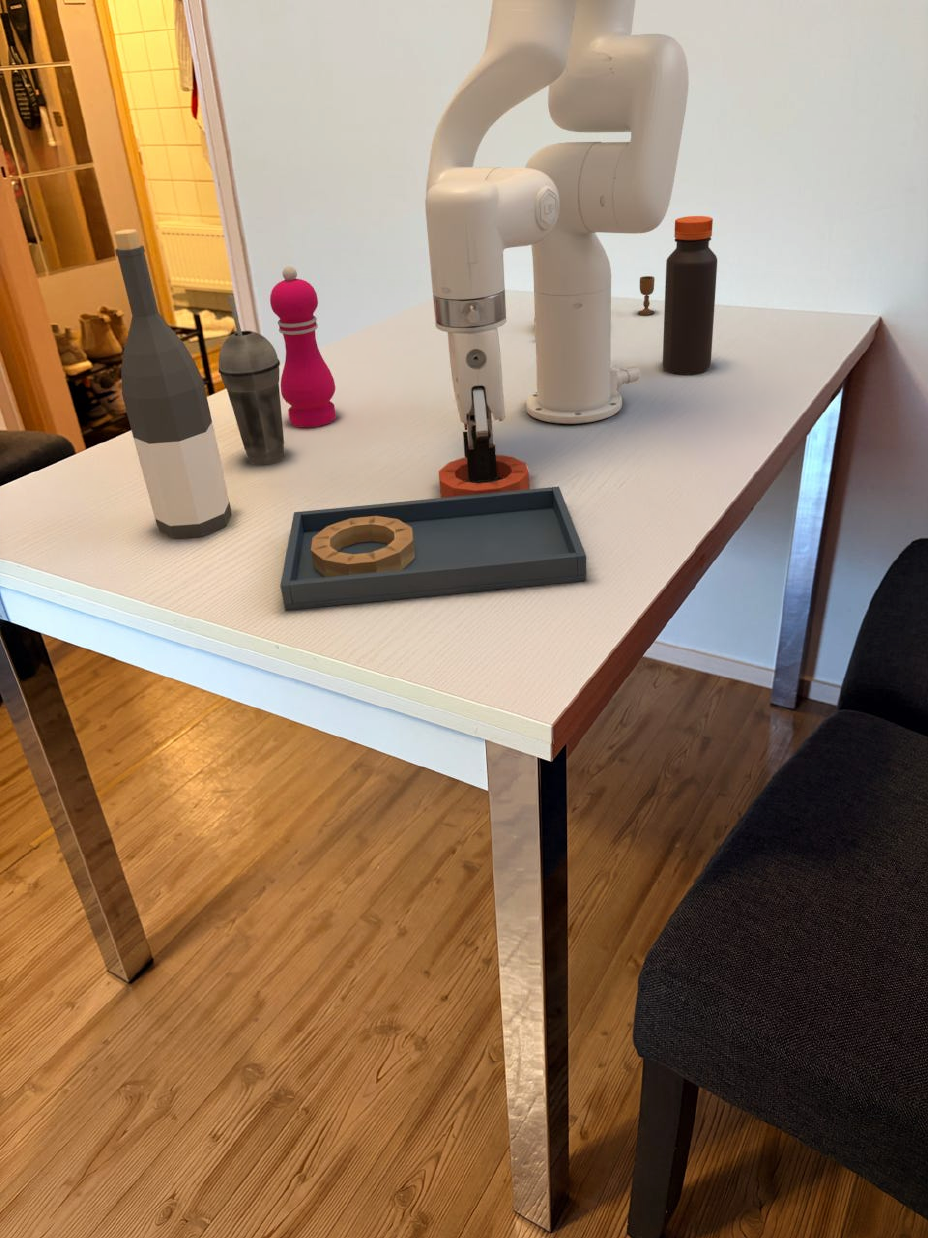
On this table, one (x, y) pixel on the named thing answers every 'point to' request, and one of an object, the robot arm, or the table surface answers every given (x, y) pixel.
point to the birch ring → (358, 532)
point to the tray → (444, 548)
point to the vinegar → (690, 298)
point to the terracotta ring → (458, 473)
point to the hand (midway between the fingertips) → (480, 469)
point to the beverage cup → (253, 392)
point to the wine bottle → (168, 411)
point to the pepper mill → (302, 353)
